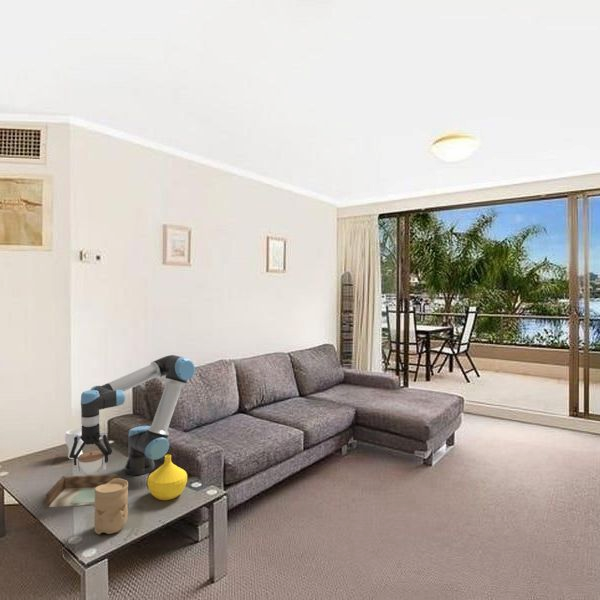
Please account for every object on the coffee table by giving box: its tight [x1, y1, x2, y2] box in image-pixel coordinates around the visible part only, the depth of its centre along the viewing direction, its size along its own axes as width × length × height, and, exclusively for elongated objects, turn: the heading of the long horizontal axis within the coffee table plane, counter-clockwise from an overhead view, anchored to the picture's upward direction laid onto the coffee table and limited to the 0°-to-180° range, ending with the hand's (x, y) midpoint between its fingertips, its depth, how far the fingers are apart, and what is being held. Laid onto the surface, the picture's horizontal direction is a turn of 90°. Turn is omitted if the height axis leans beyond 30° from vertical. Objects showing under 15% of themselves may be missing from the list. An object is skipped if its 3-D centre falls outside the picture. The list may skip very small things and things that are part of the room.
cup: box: [64, 428, 84, 460], centre depth 244 cm, size 11×11×15 cm
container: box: [93, 477, 129, 536], centre depth 173 cm, size 13×13×18 cm
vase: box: [147, 454, 188, 501], centre depth 201 cm, size 18×18×19 cm
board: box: [45, 487, 96, 508], centre depth 199 cm, size 26×18×1 cm
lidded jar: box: [78, 450, 104, 475], centre depth 197 cm, size 11×11×9 cm
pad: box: [70, 488, 95, 504], centre depth 198 cm, size 14×14×1 cm
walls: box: [45, 473, 119, 507], centre depth 199 cm, size 26×18×6 cm
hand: (91, 470), depth 197 cm, fingers closed on lidded jar, 11 cm apart
